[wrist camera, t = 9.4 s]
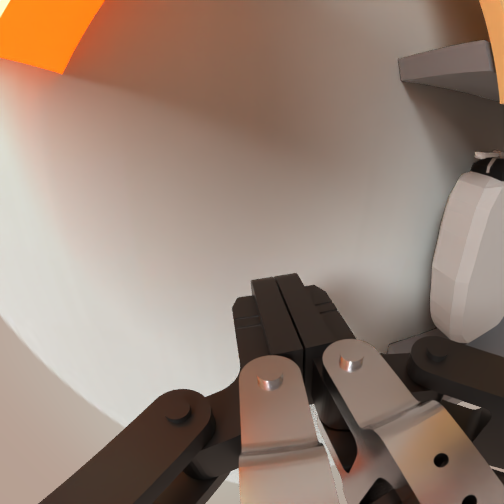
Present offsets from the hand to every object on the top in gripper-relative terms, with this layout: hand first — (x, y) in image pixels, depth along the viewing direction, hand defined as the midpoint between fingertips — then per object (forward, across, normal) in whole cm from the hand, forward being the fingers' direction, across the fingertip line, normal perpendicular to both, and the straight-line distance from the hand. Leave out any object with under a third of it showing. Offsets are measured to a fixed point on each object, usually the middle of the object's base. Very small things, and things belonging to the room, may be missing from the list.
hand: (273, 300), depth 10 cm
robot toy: (+5, -16, +1) cm, 17 cm away
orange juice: (+5, +8, -16) cm, 18 cm away
